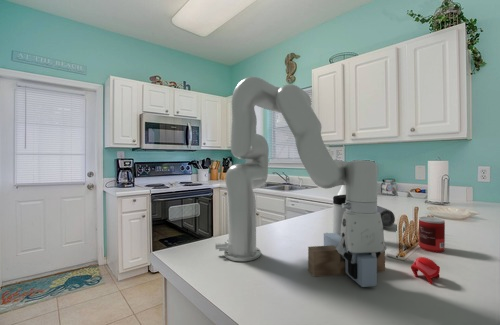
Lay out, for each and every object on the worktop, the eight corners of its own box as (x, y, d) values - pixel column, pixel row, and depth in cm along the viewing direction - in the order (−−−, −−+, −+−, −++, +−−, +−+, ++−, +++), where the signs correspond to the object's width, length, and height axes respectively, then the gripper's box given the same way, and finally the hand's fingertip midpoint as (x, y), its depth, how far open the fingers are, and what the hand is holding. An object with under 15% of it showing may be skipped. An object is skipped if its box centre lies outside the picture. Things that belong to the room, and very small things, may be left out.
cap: (429, 275, 63) (446, 262, 64) (407, 260, 68) (423, 247, 69) (430, 292, 67) (446, 279, 68) (410, 276, 72) (424, 264, 73)
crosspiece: (376, 285, 63) (376, 258, 63) (362, 287, 62) (362, 259, 62) (334, 253, 84) (334, 232, 84) (323, 253, 84) (323, 233, 84)
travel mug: (353, 252, 88) (353, 195, 87) (334, 251, 89) (334, 195, 89) (350, 246, 94) (350, 193, 93) (332, 245, 95) (331, 193, 95)
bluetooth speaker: (351, 218, 137) (351, 200, 137) (367, 218, 138) (367, 200, 138) (377, 230, 115) (377, 209, 115) (396, 229, 116) (396, 208, 116)
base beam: (313, 276, 70) (313, 251, 70) (308, 270, 74) (308, 246, 74) (385, 271, 73) (385, 247, 73) (376, 265, 77) (376, 242, 77)
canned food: (441, 246, 93) (441, 217, 93) (447, 254, 86) (447, 222, 85) (416, 244, 96) (416, 215, 96) (421, 251, 89) (421, 220, 89)
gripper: (338, 211, 61) (338, 285, 61) (400, 209, 63) (399, 280, 63) (325, 205, 68) (325, 271, 68) (380, 203, 71) (380, 268, 71)
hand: (361, 275), depth 66 cm, fingers closed on crosspiece, 3 cm apart
